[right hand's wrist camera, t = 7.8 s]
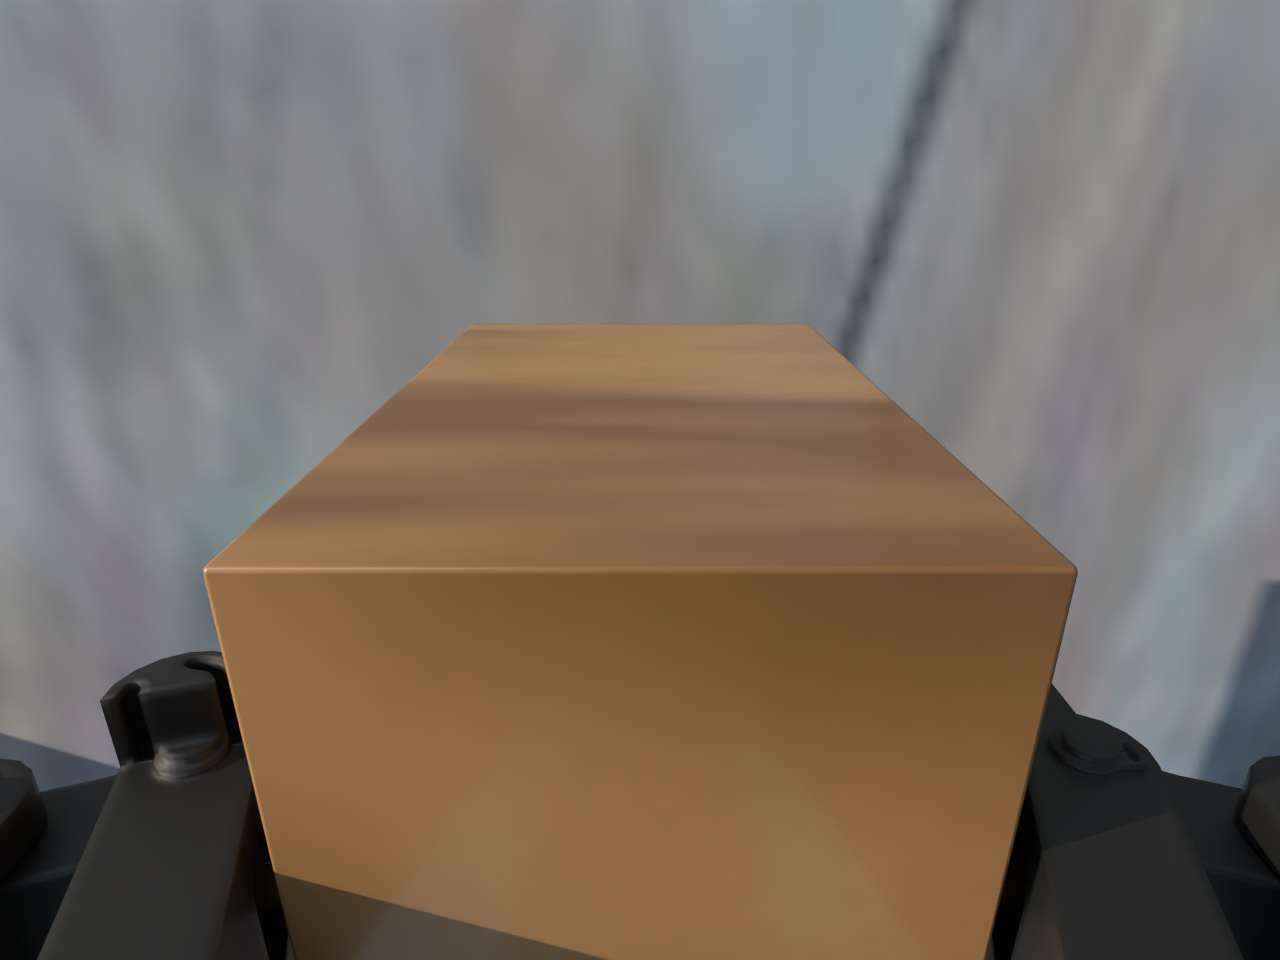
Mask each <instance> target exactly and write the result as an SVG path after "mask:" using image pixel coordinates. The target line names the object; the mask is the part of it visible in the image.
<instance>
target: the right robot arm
mask: <svg viewBox="0 0 1280 960" xmlns="http://www.w3.org/2000/svg"><path fill="white" fill-rule="evenodd" d="M100 703H101V706H102V709H103V713H104V716H105V719H106V722H107V725H108V728H109V732H110V735H111V738H112V741H113V744H114V748H115V751H116V754H117V757H118V760H119V764H120V769H119V772H118V774H117V775H114V776H110V777H107V778H103V779H99V780H94V781H89V782H85V783H80V784H75V785H71V786H66V787H61V788H57V789H52V790H47V791H43V792H39V789H38V786H37V783H36V781H35V778H34V775H33V773H32V770H31V769H30V768H28V767H27V766H26V765H24V764H23V763H21V762H20V761H16V760H6V759H0V960H295V959H294V955H293V950H292V946H291V942H290V938H289V933H288V929H287V925H286V921H285V917H284V912H283V908H282V904H281V900H280V896H279V891H278V887H277V883H276V879H275V874H274V870H273V866H272V862H271V858H270V853H269V849H268V845H267V841H266V836H265V832H264V828H263V824H262V820H261V815H260V811H259V807H258V803H257V799H256V794H255V790H254V786H253V782H252V777H251V773H250V769H249V765H248V761H247V756H246V752H245V748H244V744H243V740H242V735H241V731H240V727H239V723H238V718H237V714H236V710H235V706H234V702H233V697H232V693H231V689H230V685H229V680H228V676H227V672H226V668H225V664H224V659H223V655H222V653H221V652H216V651H205V652H189V653H185V654H181V655H177V656H172V657H168V658H164V659H161V660H158V661H156V662H154V663H151V664H149V665H147V666H144V667H142V668H140V669H137V670H135V671H133V672H132V673H130V674H129V675H127V676H126V677H124V678H123V679H121V680H120V681H118V682H117V683H115V684H114V685H113V686H112V687H111V688H110V689H109V691H108V692H107V693H106V694H105V695H104V697H103V698H102V699H101V700H100ZM986 960H1280V756H1274V757H1264V758H1262V759H1260V760H1259V761H1257V762H1256V763H1255V764H1253V765H1252V766H1250V769H1249V772H1248V775H1247V777H1246V780H1245V783H1244V785H1243V788H1242V789H1239V788H1235V787H1230V786H1225V785H1221V784H1216V783H1211V782H1207V781H1202V780H1197V779H1193V778H1188V777H1183V776H1179V775H1175V774H1171V773H1168V772H1164V771H1162V770H1161V768H1160V766H1159V764H1158V763H1157V762H1156V760H1155V759H1154V758H1153V756H1152V755H1151V753H1150V752H1149V751H1148V749H1147V748H1145V747H1144V746H1143V745H1142V744H1140V743H1139V742H1138V741H1136V740H1135V739H1134V738H1132V737H1131V736H1130V735H1129V734H1127V733H1126V732H1123V731H1121V730H1119V729H1117V728H1115V727H1113V726H1111V725H1109V724H1107V723H1105V722H1103V721H1100V720H1097V719H1093V718H1089V717H1086V716H1082V715H1079V714H1076V713H1075V712H1074V711H1073V709H1072V708H1071V707H1070V706H1069V704H1068V703H1067V702H1066V701H1065V699H1064V698H1063V697H1062V696H1061V694H1060V693H1059V692H1058V691H1057V689H1056V688H1055V687H1054V686H1053V684H1052V683H1051V688H1050V692H1049V696H1048V700H1047V704H1046V709H1045V713H1044V717H1043V721H1042V726H1041V730H1040V734H1039V738H1038V742H1037V747H1036V751H1035V755H1034V759H1033V763H1032V768H1031V772H1030V776H1029V780H1028V785H1027V789H1026V793H1025V797H1024V801H1023V806H1022V810H1021V814H1020V818H1019V823H1018V827H1017V831H1016V835H1015V839H1014V844H1013V848H1012V852H1011V856H1010V860H1009V865H1008V869H1007V873H1006V877H1005V882H1004V886H1003V890H1002V894H1001V898H1000V903H999V907H998V911H997V915H996V919H995V924H994V928H993V932H992V936H991V941H990V945H989V949H988V953H987V957H986Z"/></svg>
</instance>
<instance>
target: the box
mask: <svg viewBox="0 0 1280 960" xmlns="http://www.w3.org/2000/svg"><path fill="white" fill-rule="evenodd" d="M1077 574H1078V573H1077V568H1076V566H1075V565H1074V564H1073V563H1071V562H1070V561H1069V560H1068V559H1067V558H1066V557H1065V556H1064V555H1063V554H1062V553H1060V552H1059V551H1058V550H1057V549H1056V548H1055V547H1054V546H1053V545H1052V544H1050V543H1049V542H1048V541H1047V540H1046V539H1045V538H1044V537H1043V536H1042V535H1041V534H1039V533H1038V532H1037V531H1036V530H1035V529H1034V528H1033V527H1032V526H1031V525H1029V524H1028V523H1027V522H1026V521H1025V520H1024V519H1023V518H1022V517H1021V516H1020V515H1018V514H1017V513H1016V512H1015V511H1014V510H1013V509H1012V508H1011V507H1010V506H1009V505H1007V504H1006V503H1005V502H1004V501H1003V500H1002V499H1001V498H1000V497H999V496H997V495H996V494H995V493H994V492H993V491H992V490H991V489H990V488H989V487H988V486H986V485H985V484H984V483H983V482H982V481H981V480H980V479H979V478H978V477H976V476H975V475H974V474H973V473H972V472H971V471H970V470H969V469H968V468H967V467H965V466H964V465H963V464H962V463H961V462H960V461H959V460H958V459H957V458H955V457H954V456H953V455H952V454H951V453H950V452H949V451H948V450H947V449H946V448H944V447H943V446H942V445H941V444H940V443H939V442H938V441H937V440H936V439H935V438H933V437H932V436H931V435H930V434H929V433H928V432H927V431H926V430H925V429H923V428H922V427H921V426H920V425H919V424H918V423H917V422H916V421H915V420H914V419H912V418H911V417H910V416H909V415H908V414H907V413H906V412H905V411H904V410H902V409H901V408H900V407H899V406H898V405H897V404H896V403H895V402H894V401H893V400H891V399H890V398H889V397H888V396H887V395H886V394H885V393H884V392H883V391H882V390H880V389H879V388H878V387H877V386H876V385H875V384H874V383H873V382H872V381H870V380H869V379H868V378H867V377H866V376H865V375H864V374H863V373H862V372H861V371H859V370H858V369H857V368H856V367H855V366H854V365H853V364H852V363H851V362H849V361H848V360H847V359H846V358H845V357H844V356H843V355H842V354H841V353H840V352H838V351H837V350H836V349H835V348H834V347H833V346H832V345H831V344H830V343H828V342H827V341H826V340H825V339H824V338H823V337H822V336H821V335H820V334H819V333H817V332H816V331H815V330H814V329H813V328H812V327H811V326H810V325H808V324H473V325H471V326H470V327H469V328H467V329H466V330H465V331H464V332H463V333H462V334H461V335H460V336H459V337H458V338H456V339H455V340H454V341H453V342H452V343H451V344H450V345H449V346H448V347H446V348H445V349H444V350H443V351H442V352H441V353H440V354H439V355H438V356H437V357H435V358H434V359H433V360H432V361H431V362H430V363H429V364H428V365H427V366H426V367H424V368H423V369H422V370H421V371H420V372H419V373H418V374H417V375H416V376H415V377H413V378H412V379H411V380H410V381H409V382H408V383H407V384H406V385H405V386H403V387H402V388H401V389H400V390H399V391H398V392H397V393H396V394H395V395H394V396H392V397H391V398H390V399H389V400H388V401H387V402H386V403H385V404H384V405H383V406H381V407H380V408H379V409H378V410H377V411H376V412H375V413H374V414H373V415H371V416H370V417H369V418H368V419H367V420H366V421H365V422H364V423H363V424H362V425H360V426H359V427H358V428H357V429H356V430H355V431H354V432H353V433H352V434H351V435H349V436H348V437H347V438H346V439H345V440H344V441H343V442H342V443H341V444H339V445H338V446H337V447H336V448H335V449H334V450H333V451H332V452H331V453H330V454H328V455H327V456H326V457H325V458H324V459H323V460H322V461H321V462H320V463H319V464H317V465H316V466H315V467H314V468H313V469H312V470H311V471H310V472H309V473H307V474H306V475H305V476H304V477H303V478H302V479H301V480H300V481H299V482H298V483H296V484H295V485H294V486H293V487H292V488H291V489H290V490H289V491H288V492H287V493H285V494H284V495H283V496H282V497H281V498H280V499H279V500H278V501H277V502H275V503H274V504H273V505H272V506H271V507H270V508H269V509H268V510H267V511H266V512H264V513H263V514H262V515H261V516H260V517H259V518H258V519H257V520H256V521H255V522H253V523H252V524H251V525H250V526H249V527H248V528H247V529H246V530H245V531H243V532H242V533H241V534H240V535H239V536H238V537H237V538H236V539H235V540H234V541H232V542H231V543H230V544H229V545H228V546H227V547H226V548H225V549H224V550H223V551H221V552H220V553H219V554H218V555H217V556H216V557H215V558H214V559H213V560H211V561H210V562H209V563H208V564H207V565H206V566H205V567H204V571H203V575H204V579H205V584H206V588H207V592H208V596H209V600H210V605H211V609H212V613H213V617H214V621H215V626H216V630H217V634H218V638H219V643H220V647H221V651H222V655H223V659H224V664H225V668H226V672H227V676H228V680H229V685H230V689H231V693H232V697H233V702H234V706H235V710H236V714H237V718H238V723H239V727H240V731H241V735H242V740H243V744H244V748H245V752H246V756H247V761H248V765H249V769H250V773H251V777H252V782H253V786H254V790H255V794H256V799H257V803H258V807H259V811H260V815H261V820H262V824H263V828H264V832H265V836H266V841H267V845H268V849H269V853H270V858H271V862H272V866H273V870H274V874H275V879H276V883H277V887H278V891H279V896H280V900H281V904H282V908H283V912H284V917H285V921H286V925H287V929H288V933H289V938H290V942H291V946H292V950H293V955H294V959H295V960H986V957H987V953H988V949H989V945H990V941H991V936H992V932H993V928H994V924H995V919H996V915H997V911H998V907H999V903H1000V898H1001V894H1002V890H1003V886H1004V882H1005V877H1006V873H1007V869H1008V865H1009V860H1010V856H1011V852H1012V848H1013V844H1014V839H1015V835H1016V831H1017V827H1018V823H1019V818H1020V814H1021V810H1022V806H1023V801H1024V797H1025V793H1026V789H1027V785H1028V780H1029V776H1030V772H1031V768H1032V763H1033V759H1034V755H1035V751H1036V747H1037V742H1038V738H1039V734H1040V730H1041V726H1042V721H1043V717H1044V713H1045V709H1046V704H1047V700H1048V696H1049V692H1050V688H1051V683H1052V679H1053V675H1054V671H1055V667H1056V662H1057V658H1058V654H1059V650H1060V645H1061V641H1062V637H1063V633H1064V629H1065V624H1066V620H1067V616H1068V612H1069V607H1070V603H1071V599H1072V595H1073V591H1074V586H1075V582H1076V578H1077Z"/></svg>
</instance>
